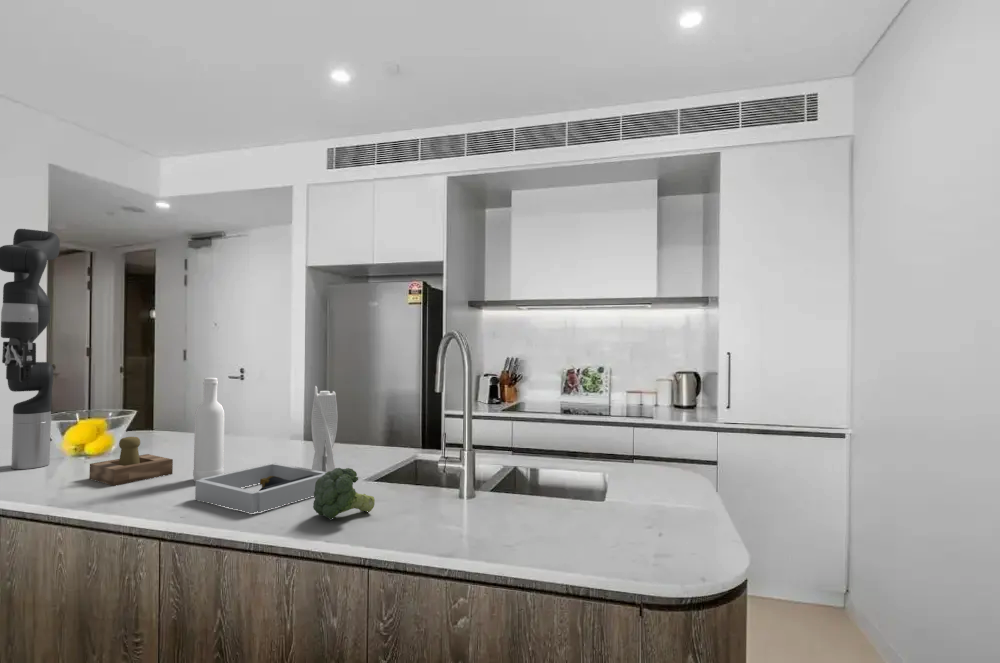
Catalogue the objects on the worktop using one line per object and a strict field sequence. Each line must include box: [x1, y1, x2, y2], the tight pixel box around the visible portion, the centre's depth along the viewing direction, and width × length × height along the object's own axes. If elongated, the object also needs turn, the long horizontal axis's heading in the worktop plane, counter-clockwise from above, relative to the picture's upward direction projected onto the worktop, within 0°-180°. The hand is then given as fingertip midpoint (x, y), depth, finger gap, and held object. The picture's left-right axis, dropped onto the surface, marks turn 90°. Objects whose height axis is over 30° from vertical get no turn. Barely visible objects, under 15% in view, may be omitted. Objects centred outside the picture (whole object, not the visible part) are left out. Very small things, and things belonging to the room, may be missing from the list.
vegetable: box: [312, 467, 375, 520], centre depth 128 cm, size 12×13×15 cm
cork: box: [118, 436, 141, 466], centre depth 160 cm, size 6×6×11 cm
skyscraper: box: [310, 385, 339, 472], centre depth 160 cm, size 8×8×28 cm
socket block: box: [88, 453, 174, 487], centre depth 162 cm, size 14×16×4 cm
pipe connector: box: [258, 475, 314, 491], centre depth 143 cm, size 12×5×15 cm
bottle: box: [192, 377, 225, 483], centre depth 160 cm, size 8×8×30 cm
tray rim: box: [194, 462, 327, 513], centre depth 144 cm, size 24×24×5 cm
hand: (18, 380), depth 146 cm, fingers open, 8 cm apart
